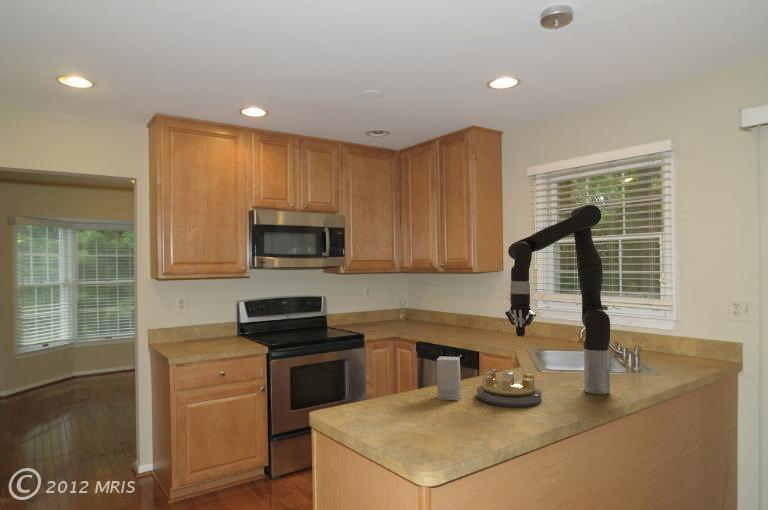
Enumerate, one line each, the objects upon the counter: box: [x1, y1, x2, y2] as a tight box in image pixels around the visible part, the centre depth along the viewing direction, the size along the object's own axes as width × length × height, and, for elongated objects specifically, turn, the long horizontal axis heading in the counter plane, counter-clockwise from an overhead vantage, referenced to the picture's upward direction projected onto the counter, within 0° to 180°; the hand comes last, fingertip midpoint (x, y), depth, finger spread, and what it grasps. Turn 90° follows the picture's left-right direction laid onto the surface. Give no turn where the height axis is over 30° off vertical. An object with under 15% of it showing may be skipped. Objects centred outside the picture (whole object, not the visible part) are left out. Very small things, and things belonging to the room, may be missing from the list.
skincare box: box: [436, 355, 462, 401], centre depth 193 cm, size 8×7×16 cm
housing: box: [476, 385, 542, 409], centre depth 192 cm, size 24×24×3 cm
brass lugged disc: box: [481, 369, 537, 397], centre depth 192 cm, size 20×20×6 cm
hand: (520, 336), depth 198 cm, fingers closed
